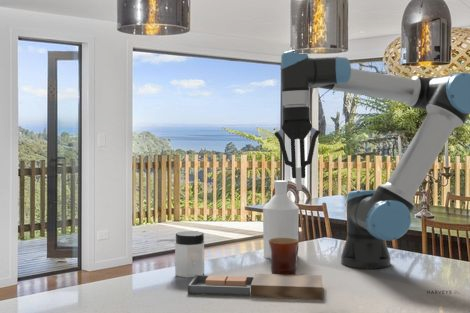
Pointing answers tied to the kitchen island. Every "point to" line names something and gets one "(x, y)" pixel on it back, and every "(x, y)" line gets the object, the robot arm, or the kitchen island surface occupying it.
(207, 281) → the tile
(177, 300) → the kitchen island surface
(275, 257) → the mug
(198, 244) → the jar
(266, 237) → the bottle
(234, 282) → the tile
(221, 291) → the tray
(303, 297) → the board
